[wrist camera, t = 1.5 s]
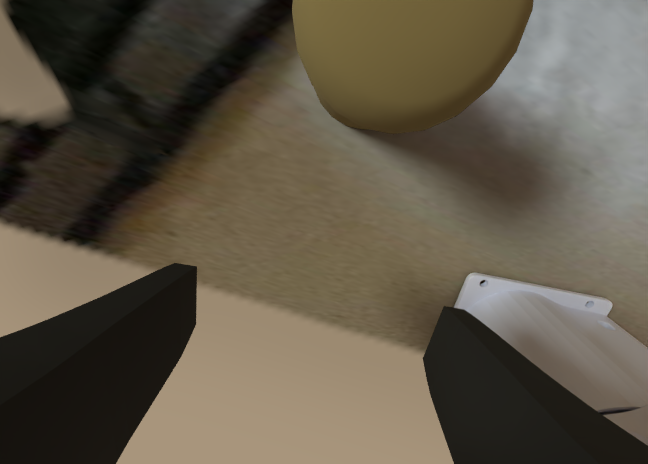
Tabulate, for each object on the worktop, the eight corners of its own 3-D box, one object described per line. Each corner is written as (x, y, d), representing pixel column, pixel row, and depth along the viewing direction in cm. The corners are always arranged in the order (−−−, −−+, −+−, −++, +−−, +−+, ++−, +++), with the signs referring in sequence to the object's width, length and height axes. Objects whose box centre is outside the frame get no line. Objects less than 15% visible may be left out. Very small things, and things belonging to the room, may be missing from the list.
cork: (418, -23, 14) (618, -359, 4) (437, 111, 16) (599, 113, 6) (295, 20, 15) (203, -168, 5) (328, 142, 17) (310, 190, 7)
